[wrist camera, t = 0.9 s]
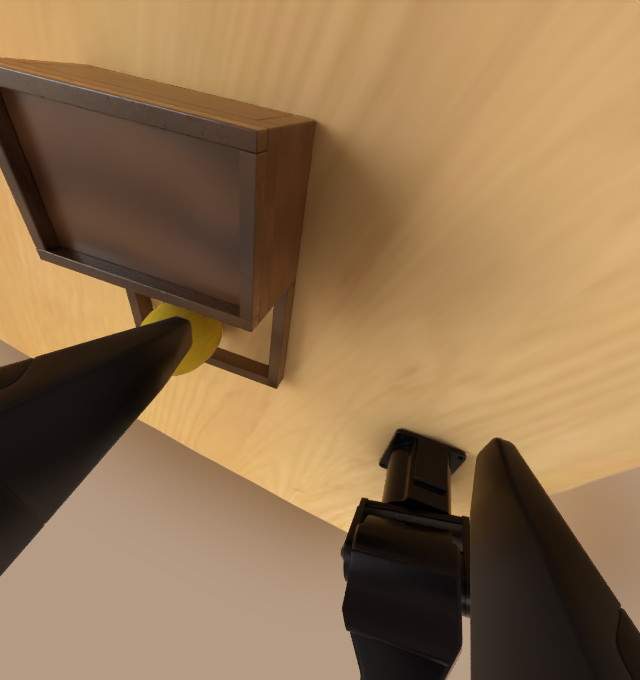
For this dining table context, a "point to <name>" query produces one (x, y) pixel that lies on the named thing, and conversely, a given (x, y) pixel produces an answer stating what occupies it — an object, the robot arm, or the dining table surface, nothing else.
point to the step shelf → (161, 193)
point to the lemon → (203, 335)
